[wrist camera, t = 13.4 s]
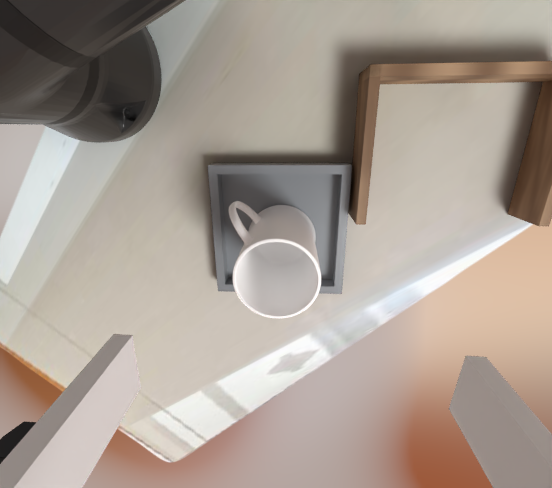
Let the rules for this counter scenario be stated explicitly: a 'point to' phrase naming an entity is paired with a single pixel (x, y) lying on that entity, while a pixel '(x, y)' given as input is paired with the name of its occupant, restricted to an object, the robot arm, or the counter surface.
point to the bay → (548, 114)
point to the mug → (276, 261)
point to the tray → (282, 191)
